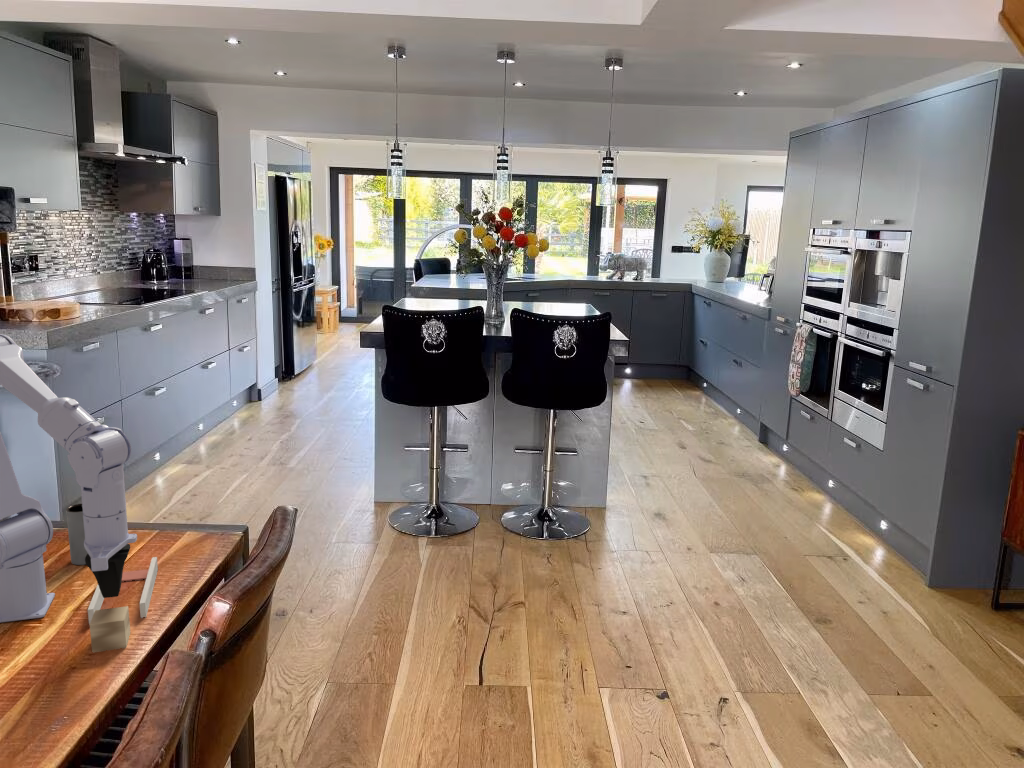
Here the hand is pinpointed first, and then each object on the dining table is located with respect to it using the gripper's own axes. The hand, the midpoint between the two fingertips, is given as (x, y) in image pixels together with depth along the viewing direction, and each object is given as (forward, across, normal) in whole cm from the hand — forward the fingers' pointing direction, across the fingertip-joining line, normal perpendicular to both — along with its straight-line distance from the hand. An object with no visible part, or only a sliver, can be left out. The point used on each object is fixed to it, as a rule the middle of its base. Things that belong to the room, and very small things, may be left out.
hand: (111, 595), depth 117 cm
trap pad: (+6, +19, 0) cm, 20 cm away
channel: (+6, +12, 0) cm, 13 cm away
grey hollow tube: (+6, +29, +9) cm, 31 cm away
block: (+6, -4, 0) cm, 7 cm away
